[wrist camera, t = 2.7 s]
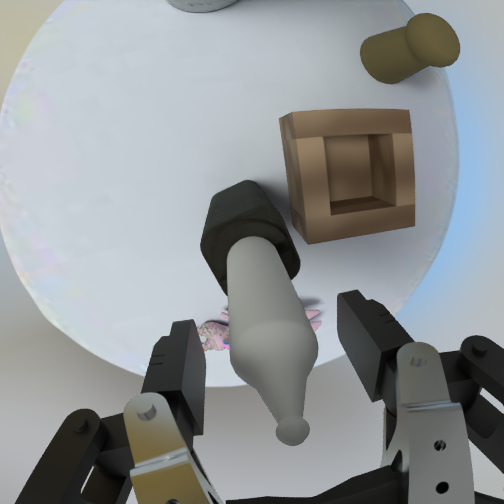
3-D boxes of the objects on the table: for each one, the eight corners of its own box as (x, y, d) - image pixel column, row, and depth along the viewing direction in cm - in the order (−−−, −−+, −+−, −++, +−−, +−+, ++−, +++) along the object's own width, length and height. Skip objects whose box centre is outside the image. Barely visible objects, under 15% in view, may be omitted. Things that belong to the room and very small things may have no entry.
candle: (206, 198, 28) (141, 417, 5) (253, 175, 28) (380, 328, 5) (228, 242, 30) (245, 494, 7) (274, 221, 30) (398, 440, 7)
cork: (380, 92, 26) (444, 78, 15) (349, 46, 24) (403, 11, 13) (414, 73, 25) (478, 59, 15) (386, 30, 23) (443, 0, 13)
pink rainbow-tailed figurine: (205, 346, 36) (322, 329, 34) (195, 379, 31) (328, 362, 29) (188, 307, 34) (315, 285, 32) (174, 338, 29) (322, 316, 26)
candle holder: (278, 118, 26) (292, 111, 21) (378, 113, 27) (409, 109, 21) (292, 225, 30) (307, 244, 25) (385, 211, 30) (414, 226, 25)
